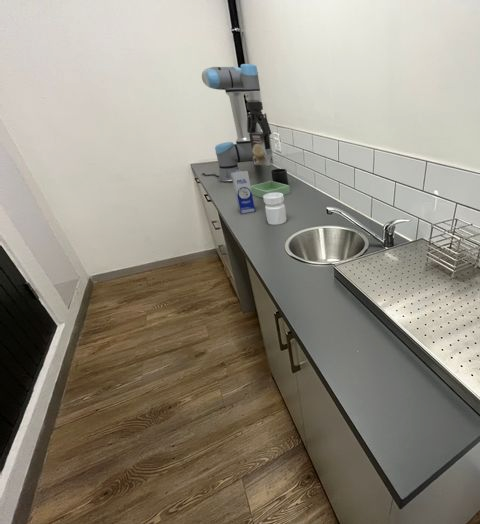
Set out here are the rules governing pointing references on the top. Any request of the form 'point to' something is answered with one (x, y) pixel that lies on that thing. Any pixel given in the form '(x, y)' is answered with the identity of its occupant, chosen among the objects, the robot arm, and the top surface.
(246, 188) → the milk carton
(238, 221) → the top surface
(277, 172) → the mug
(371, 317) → the top surface
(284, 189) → the bin
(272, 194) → the white pill bottle
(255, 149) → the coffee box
